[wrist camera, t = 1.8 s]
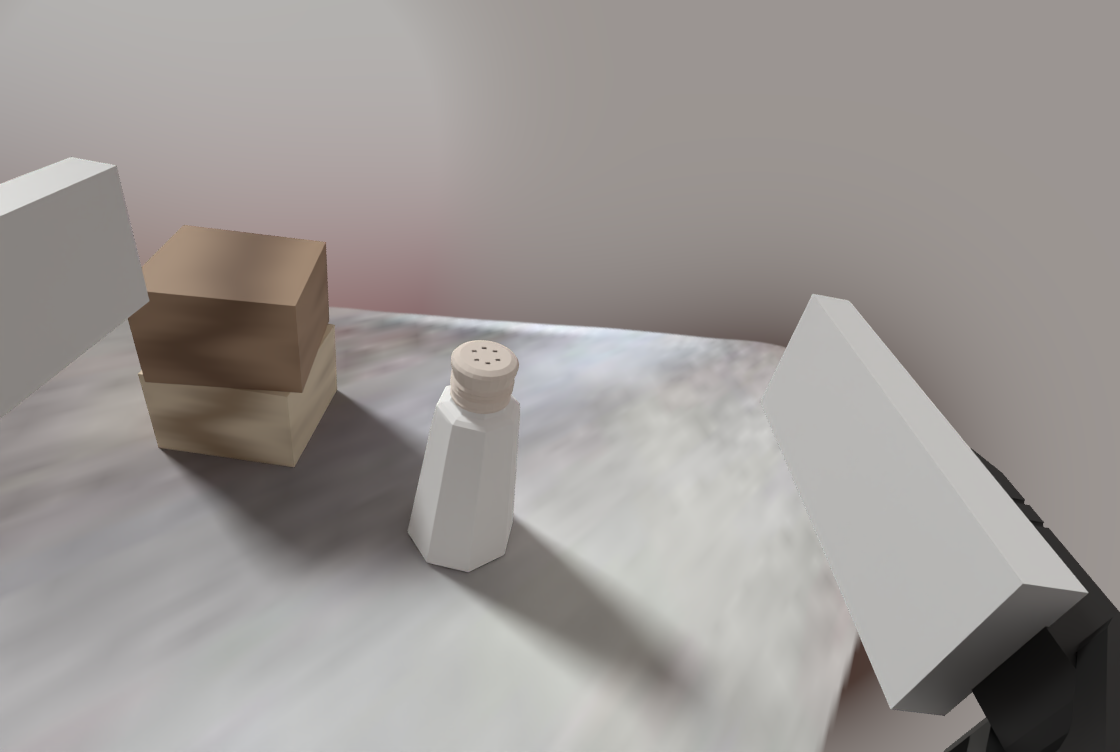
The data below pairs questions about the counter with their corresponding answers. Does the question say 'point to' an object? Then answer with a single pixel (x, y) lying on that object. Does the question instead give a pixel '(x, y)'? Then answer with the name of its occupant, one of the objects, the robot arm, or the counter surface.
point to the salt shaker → (470, 462)
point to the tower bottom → (244, 415)
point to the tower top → (232, 310)
